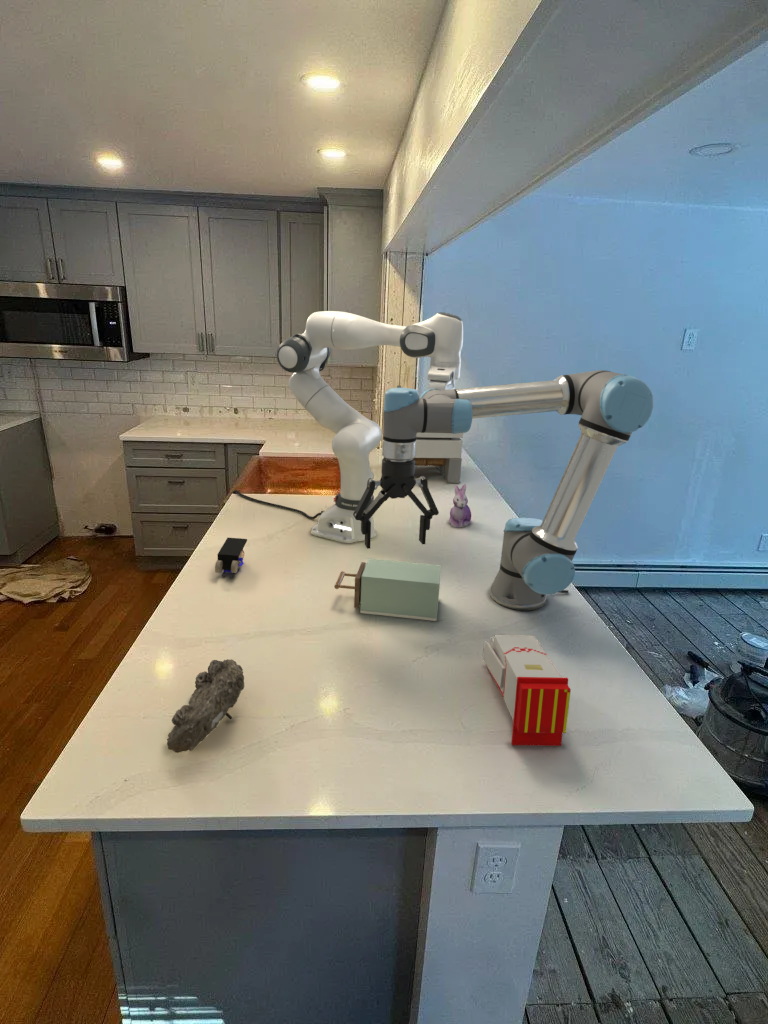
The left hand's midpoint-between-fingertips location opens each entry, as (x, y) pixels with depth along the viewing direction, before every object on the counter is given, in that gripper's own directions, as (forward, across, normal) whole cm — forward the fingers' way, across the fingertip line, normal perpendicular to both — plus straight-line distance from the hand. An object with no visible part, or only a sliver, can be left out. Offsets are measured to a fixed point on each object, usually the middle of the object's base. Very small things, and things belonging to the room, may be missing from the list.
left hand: (440, 418), depth 170 cm
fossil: (+44, +92, -21) cm, 104 cm away
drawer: (+43, +38, -5) cm, 58 cm away
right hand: (+22, +47, +1) cm, 52 cm away
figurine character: (+44, +35, -52) cm, 77 cm away
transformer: (+44, -92, -26) cm, 105 cm away
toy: (+44, +66, +34) cm, 86 cm away
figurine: (+44, -31, +4) cm, 54 cm away
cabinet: (+44, +37, +1) cm, 58 cm away
